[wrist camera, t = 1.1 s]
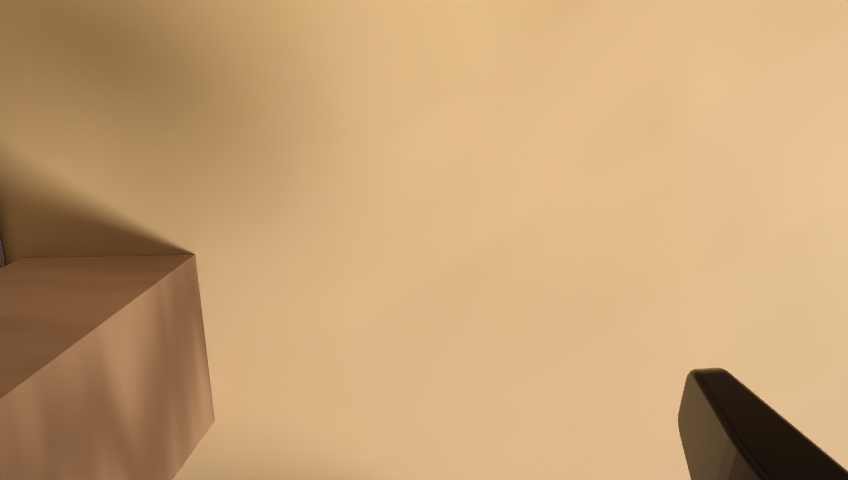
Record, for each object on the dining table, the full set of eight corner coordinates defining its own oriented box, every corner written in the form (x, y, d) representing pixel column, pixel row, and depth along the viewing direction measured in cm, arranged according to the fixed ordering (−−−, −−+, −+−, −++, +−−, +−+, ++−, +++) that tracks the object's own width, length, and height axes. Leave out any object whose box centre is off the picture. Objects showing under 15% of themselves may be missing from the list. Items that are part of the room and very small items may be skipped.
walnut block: (214, 420, 23) (-22, 750, 12) (50, 420, 23) (-313, 738, 13) (195, 254, 22) (-85, 462, 11) (21, 257, 22) (-407, 461, 12)
